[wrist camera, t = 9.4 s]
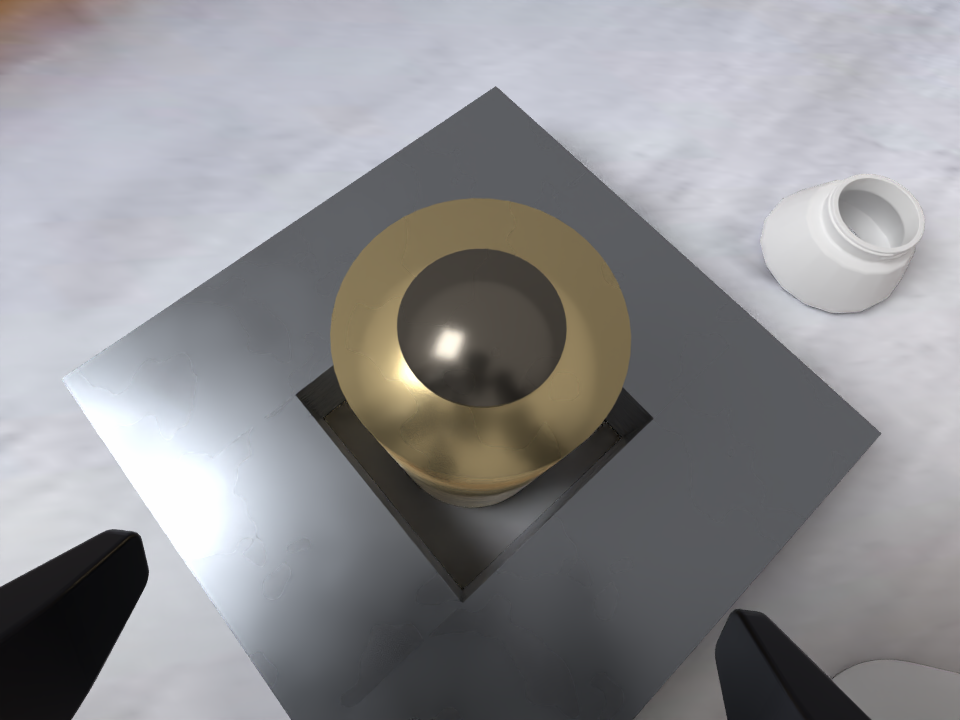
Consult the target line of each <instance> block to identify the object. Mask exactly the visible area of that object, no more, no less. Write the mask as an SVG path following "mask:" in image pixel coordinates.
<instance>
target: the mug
mask: <svg viewBox="0 0 960 720" xmlns="http://www.w3.org/2000/svg"><path fill="white" fill-rule="evenodd" d="M832 681H833V682H834V683H835V684H836V685H837V686H838V687H839V688H840V689H841V690H842V691H843V692H844V693H845V694H846V695H847V696H848V697H849V698H850V699H851V700H852V701H853V702H854V703H855V704H856V705H857V706H858V707H859V708H860V709H861V710H862V711H863V712H864V713H865V714H866V715H867V716H868V717H869V718H870V719H871V720H960V674H959V673H955V672H951V671H946V670H942V669H938V668H933V667H929V666H925V665H921V664H916V663H912V662H907V661H900V660H874V661H868V662H864V663H860V664H857V665H855V666H852V667H850V668H848V669H846V670H844V671H843V672H841V673H840V674H838V675H837V676H836V677H835V678H833V679H832Z"/></svg>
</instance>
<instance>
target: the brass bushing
mask: <svg viewBox="0 0 960 720" xmlns="http://www.w3.org/2000/svg"><path fill="white" fill-rule="evenodd" d="M330 341H331V355H332V360H333V365H334V370H335V373H336V376H337V379H338V382H339V385H340V388H341V390H342V392H343V394H344V396H345V398H346V400H347V402H348V404H349V406H350V407H351V409H352V410H353V412H354V413H355V414H356V416H357V417H358V419H359V420H360V421H361V423H362V424H363V425H364V426H365V427H366V428H367V429H368V431H369V432H370V433H371V434H372V435H373V436H374V437H375V438H376V439H377V441H378V442H379V443H380V444H381V445H382V446H383V447H384V448H385V449H386V450H387V452H388V453H389V454H390V455H391V456H392V457H393V458H394V459H395V460H396V462H397V463H398V464H399V465H400V466H401V467H402V468H403V469H404V470H405V471H406V473H407V474H408V475H409V476H410V477H411V478H412V479H413V480H414V481H415V482H416V484H417V485H418V486H419V487H420V488H422V489H423V490H424V491H425V492H427V493H428V494H429V495H431V496H433V497H434V498H436V499H438V500H440V501H442V502H445V503H447V504H451V505H454V506H459V507H467V508H473V507H484V506H490V505H493V504H497V503H499V502H502V501H504V500H506V499H508V498H510V497H511V496H513V495H515V494H516V493H518V492H519V491H520V490H522V489H523V488H524V487H525V486H527V485H528V484H529V483H531V482H532V481H533V480H535V479H536V478H537V477H539V476H540V475H541V474H543V473H544V472H545V471H547V470H548V469H549V468H551V467H552V466H553V465H555V464H556V463H557V462H558V461H560V460H561V459H562V458H564V457H565V456H566V455H568V454H569V453H570V452H572V451H573V450H574V449H575V448H577V447H578V446H579V445H580V444H582V443H583V442H584V441H585V440H586V439H588V438H589V437H590V436H591V434H592V433H593V432H594V431H595V430H596V429H597V428H598V427H599V426H600V425H601V424H602V422H603V421H604V419H605V418H606V417H607V415H608V414H609V412H610V411H611V409H612V408H613V406H614V404H615V402H616V400H617V398H618V396H619V394H620V392H621V390H622V387H623V384H624V381H625V378H626V375H627V371H628V365H629V360H630V353H631V330H630V320H629V315H628V311H627V307H626V302H625V299H624V297H623V294H622V291H621V289H620V286H619V284H618V282H617V280H616V278H615V277H614V275H613V273H612V271H611V269H610V268H609V266H608V265H607V263H606V262H605V261H604V259H603V258H602V257H601V255H600V254H599V253H598V252H597V251H596V250H595V248H594V247H593V246H592V245H591V244H590V243H589V242H588V241H587V240H586V239H585V238H583V237H582V236H581V235H580V234H579V233H577V232H576V231H575V230H574V229H572V228H571V227H569V226H568V225H566V224H565V223H563V222H562V221H560V220H559V219H557V218H555V217H553V216H551V215H549V214H547V213H545V212H543V211H540V210H538V209H535V208H532V207H529V206H527V205H523V204H519V203H515V202H511V201H505V200H497V199H485V198H470V199H460V200H452V201H447V202H443V203H438V204H434V205H431V206H428V207H425V208H422V209H420V210H417V211H415V212H413V213H411V214H409V215H407V216H405V217H403V218H401V219H400V220H398V221H396V222H395V223H393V224H392V225H390V226H388V227H387V228H386V229H385V230H383V231H382V232H381V233H380V234H378V235H377V236H376V237H375V238H374V239H373V240H372V241H371V242H370V243H369V244H368V245H367V246H366V247H365V248H364V249H363V250H362V251H361V253H360V254H359V255H358V257H357V258H356V259H355V261H354V262H353V263H352V265H351V267H350V268H349V270H348V272H347V274H346V276H345V277H344V279H343V281H342V284H341V286H340V289H339V291H338V294H337V296H336V300H335V304H334V308H333V313H332V319H331V330H330Z"/></svg>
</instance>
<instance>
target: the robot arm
mask: <svg viewBox="0 0 960 720" xmlns="http://www.w3.org/2000/svg"><path fill="white" fill-rule="evenodd" d="M148 576H149V569H148V564H147V560H146V555H145V551H144V547H143V543H142V539H141V536H140V535H139V534H138V533H136V532H132V531H124V530H117V529H112V530H107V531H104V532H102V533H100V534H98V535H96V536H95V537H93V538H91V539H89V540H87V541H85V542H83V543H82V544H80V545H78V546H76V547H74V548H72V549H70V550H68V551H67V552H65V553H63V554H61V555H59V556H57V557H55V558H53V559H52V560H50V561H48V562H46V563H44V564H42V565H40V566H38V567H37V568H35V569H33V570H31V571H29V572H27V573H25V574H24V575H22V576H20V577H18V578H16V579H14V580H12V581H10V582H9V583H7V584H5V585H3V586H1V587H0V720H71V719H72V718H73V716H74V715H75V713H76V712H77V710H78V709H79V707H80V705H81V704H82V702H83V701H84V699H85V697H86V696H87V694H88V693H89V691H90V689H91V687H92V686H93V684H94V682H95V680H96V679H97V677H98V675H99V673H100V671H101V669H102V668H103V666H104V664H105V662H106V660H107V658H108V656H109V654H110V653H111V651H112V649H113V647H114V645H115V643H116V641H117V639H118V637H119V636H120V634H121V632H122V630H123V628H124V626H125V624H126V622H127V620H128V619H129V617H130V615H131V613H132V611H133V609H134V607H135V605H136V603H137V602H138V600H139V598H140V596H141V594H142V592H143V590H144V588H145V586H146V584H147V581H148ZM715 659H716V664H717V669H718V674H719V680H720V685H721V690H722V695H723V700H724V705H725V710H726V715H727V720H871V719H870V718H869V717H868V716H867V715H866V714H865V713H864V712H863V711H862V710H861V709H860V708H859V707H858V706H857V705H856V704H855V703H854V702H853V701H852V700H851V699H850V698H849V697H848V696H847V695H846V694H845V693H844V692H843V691H842V690H841V689H840V688H839V687H838V686H837V685H836V684H835V683H834V682H833V681H832V680H831V679H830V678H829V677H828V676H827V675H826V674H825V673H824V672H823V671H822V670H821V669H820V668H819V667H818V666H817V665H816V664H815V663H814V662H813V661H812V660H811V659H810V658H809V657H808V656H807V655H806V654H805V653H804V652H803V651H802V650H801V649H800V648H799V647H798V646H797V645H796V644H795V643H794V642H793V641H792V640H791V639H790V638H789V637H788V636H787V635H786V634H785V633H784V632H783V631H782V630H781V629H780V628H779V627H778V626H777V625H776V624H775V623H774V622H773V621H772V620H770V619H769V618H768V617H767V616H766V615H764V614H763V613H761V612H757V611H749V610H741V609H736V610H734V611H733V612H731V614H730V616H729V618H728V620H727V622H726V624H725V626H724V628H723V630H722V633H721V635H720V637H719V639H718V641H717V644H716V648H715Z"/></svg>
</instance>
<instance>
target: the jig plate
mask: <svg viewBox="0 0 960 720" xmlns="http://www.w3.org/2000/svg"><path fill="white" fill-rule="evenodd" d="M470 198H485V199H497V200H505V201H511V202H515V203H519V204H523V205H527V206H529V207H532V208H535V209H538V210H540V211H543V212H545V213H547V214H549V215H551V216H553V217H555V218H557V219H559V220H560V221H562V222H563V223H565V224H566V225H568V226H569V227H571V228H572V229H574V230H575V231H576V232H577V233H579V234H580V235H581V236H582V237H583V238H585V239H586V240H587V241H588V242H589V243H590V244H591V245H592V246H593V247H594V248H595V250H596V251H597V252H598V253H599V254H600V255H601V257H602V258H603V259H604V261H605V262H606V263H607V265H608V266H609V268H610V269H611V271H612V273H613V275H614V277H615V278H616V280H617V282H618V284H619V286H620V289H621V291H622V294H623V297H624V299H625V302H626V307H627V311H628V315H629V320H630V330H631V353H630V360H629V365H628V371H627V375H626V378H625V381H624V384H623V387H622V390H621V392H620V394H619V396H618V398H617V400H616V402H615V404H614V406H613V408H612V409H611V411H610V412H609V414H608V415H607V417H606V418H605V420H606V421H607V422H608V423H609V424H610V425H611V426H612V427H613V428H614V429H615V431H616V432H617V433H618V434H619V435H620V436H621V437H622V438H621V439H620V440H619V441H618V442H617V443H616V444H615V445H614V446H613V447H612V448H611V449H610V450H609V451H608V452H607V453H606V454H604V455H603V456H602V457H601V458H600V459H599V460H598V461H597V462H596V463H595V464H594V465H593V466H592V467H591V468H590V469H589V470H588V471H587V472H586V473H585V474H584V475H583V476H582V477H580V478H579V479H578V480H577V481H576V482H575V483H574V484H573V485H572V486H571V487H570V488H569V489H568V490H567V491H566V492H565V493H564V494H563V495H562V496H561V497H560V498H559V499H558V500H557V501H555V502H554V503H553V504H552V505H551V506H550V507H549V508H548V509H547V510H546V511H545V512H544V513H543V514H542V515H541V516H540V517H539V518H538V519H537V520H536V521H535V522H534V523H533V524H531V525H530V526H529V527H528V528H527V529H526V530H525V531H524V532H523V533H522V534H521V535H520V536H519V537H518V538H517V539H516V540H515V541H514V542H513V543H512V544H511V545H510V546H509V547H507V548H506V549H505V550H504V551H503V552H502V553H501V554H500V555H499V556H498V557H497V558H496V559H495V560H494V561H493V562H492V563H491V564H490V565H489V566H488V567H487V568H486V569H485V570H484V571H482V572H481V573H480V574H479V575H478V576H477V577H476V578H475V579H474V580H473V581H472V582H471V583H470V584H469V585H468V586H467V587H466V588H465V589H464V590H463V591H462V590H461V588H460V587H459V586H458V585H457V584H456V582H455V581H454V580H453V579H452V577H451V576H450V575H449V574H448V572H447V571H446V570H445V569H444V567H443V566H442V565H441V564H440V562H439V561H438V560H437V559H436V558H435V556H434V555H433V554H432V553H431V551H430V550H429V549H428V548H427V546H426V545H425V544H424V543H423V541H422V540H421V539H420V538H419V536H418V535H417V534H416V533H415V531H414V530H413V529H412V528H411V527H410V525H409V524H408V523H407V522H406V520H405V519H404V518H403V517H402V515H401V514H400V513H399V512H398V510H397V509H396V508H395V507H394V505H393V504H392V503H391V502H390V501H389V499H388V498H387V497H386V496H385V494H384V493H383V492H382V491H381V489H380V488H379V487H378V486H377V484H376V483H375V482H374V481H373V479H372V478H371V477H370V476H369V475H368V473H367V472H366V471H365V470H364V468H363V467H362V466H361V465H360V463H359V462H358V461H357V460H356V458H355V457H354V456H353V455H352V453H351V452H350V451H349V450H348V448H347V447H346V446H345V445H344V444H343V442H342V441H341V440H340V439H339V437H338V436H337V435H336V434H335V432H334V431H333V430H332V429H331V427H330V426H329V425H328V424H327V422H326V421H325V420H324V419H323V417H324V416H326V415H327V414H328V413H329V412H331V411H332V410H333V409H334V408H336V407H337V406H338V405H339V404H341V403H342V402H343V401H344V400H346V398H345V396H344V394H343V392H342V390H341V388H340V385H339V382H338V379H337V376H336V373H335V370H334V365H333V360H332V355H331V341H330V330H331V319H332V313H333V308H334V304H335V300H336V296H337V294H338V291H339V289H340V286H341V284H342V281H343V279H344V277H345V276H346V274H347V272H348V270H349V268H350V267H351V265H352V263H353V262H354V261H355V259H356V258H357V257H358V255H359V254H360V253H361V251H362V250H363V249H364V248H365V247H366V246H367V245H368V244H369V243H370V242H371V241H372V240H373V239H374V238H375V237H376V236H377V235H378V234H380V233H381V232H382V231H383V230H385V229H386V228H387V227H388V226H390V225H392V224H393V223H395V222H396V221H398V220H400V219H401V218H403V217H405V216H407V215H409V214H411V213H413V212H415V211H417V210H420V209H422V208H425V207H428V206H431V205H434V204H438V203H443V202H447V201H452V200H460V199H470ZM61 380H62V381H63V382H64V384H65V385H66V387H67V388H68V390H69V391H70V393H71V394H72V396H73V397H74V399H75V400H76V402H77V403H78V405H79V406H80V408H81V409H82V411H83V412H84V414H85V415H86V417H87V418H88V419H89V421H90V422H91V424H92V425H93V427H94V428H95V430H96V431H97V433H98V434H99V436H100V437H101V439H102V440H103V442H104V443H105V445H106V446H107V448H108V449H109V451H110V452H111V454H112V455H113V456H114V458H115V459H116V461H117V462H118V464H119V465H120V467H121V468H122V470H123V471H124V473H125V474H126V476H127V477H128V479H129V480H130V482H131V483H132V485H133V486H134V488H135V489H136V491H137V492H138V493H139V495H140V496H141V498H142V499H143V501H144V502H145V504H146V505H147V507H148V508H149V510H150V511H151V513H152V514H153V516H154V517H155V519H156V520H157V522H158V523H159V525H160V526H161V528H162V529H163V530H164V532H165V533H166V535H167V536H168V538H169V539H170V541H171V542H172V544H173V545H174V547H175V548H176V550H177V551H178V553H179V554H180V556H181V557H182V559H183V560H184V562H185V563H186V565H187V566H188V568H189V569H190V570H191V572H192V573H193V575H194V576H195V578H196V579H197V581H198V582H199V584H200V585H201V587H202V588H203V590H204V591H205V593H206V594H207V596H208V597H209V599H210V600H211V602H212V603H213V605H214V606H215V607H216V609H217V610H218V612H219V613H220V615H221V616H222V618H223V619H224V621H225V622H226V624H227V625H228V627H229V628H230V630H231V631H232V633H233V634H234V636H235V637H236V639H237V640H238V642H239V643H240V644H241V646H242V647H243V649H244V650H245V652H246V653H247V655H248V656H249V658H250V659H251V661H252V662H253V664H254V665H255V667H256V668H257V670H258V671H259V673H260V674H261V676H262V677H263V679H264V680H265V681H266V683H267V684H268V686H269V687H270V689H271V690H272V692H273V693H274V695H275V696H276V698H277V699H278V701H279V702H280V704H281V705H282V707H283V708H284V710H285V711H286V713H287V714H288V716H289V717H290V718H291V720H633V719H634V718H635V716H636V715H637V714H638V713H639V712H640V711H641V710H642V708H643V707H644V706H645V705H646V704H647V703H648V702H649V700H650V699H651V698H652V697H653V696H654V695H655V693H656V692H657V691H658V690H659V689H660V688H661V687H662V685H663V684H664V683H665V682H666V681H667V680H668V679H669V677H670V676H671V675H672V674H673V673H674V672H675V670H676V669H677V668H678V667H679V666H680V665H681V664H682V662H683V661H684V660H685V659H686V658H687V657H688V655H689V654H690V653H691V652H692V651H693V650H694V649H695V647H696V646H697V645H698V644H699V643H700V642H701V641H702V639H703V638H704V637H705V636H706V635H707V634H708V632H709V631H710V630H711V629H712V628H713V627H714V626H715V624H716V623H717V622H718V621H719V620H720V619H721V617H722V616H723V615H724V614H725V613H726V612H727V611H728V609H729V608H730V607H731V606H732V605H733V604H734V603H735V601H736V600H737V599H738V598H739V597H740V596H741V594H742V593H743V592H744V591H745V590H746V589H747V588H748V586H749V585H750V584H751V583H752V582H753V581H754V580H755V578H756V577H757V576H758V575H759V574H760V573H761V571H762V570H763V569H764V568H765V567H766V566H767V565H768V563H769V562H770V561H771V560H772V559H773V558H774V556H775V555H776V554H777V553H778V552H779V551H780V550H781V548H782V547H783V546H784V545H785V544H786V543H787V542H788V540H789V539H790V538H791V537H792V536H793V535H794V533H795V532H796V531H797V530H798V529H799V528H800V527H801V525H802V524H803V523H804V522H805V521H806V520H807V518H808V517H809V516H810V515H811V514H812V513H813V512H814V510H815V509H816V508H817V507H818V506H819V505H820V504H821V502H822V501H823V500H824V499H825V498H826V497H827V495H828V494H829V493H830V492H831V491H832V490H833V489H834V487H835V486H836V485H837V484H838V483H839V482H840V481H841V479H842V478H843V477H844V476H845V475H846V474H847V472H848V471H849V470H850V469H851V468H852V467H853V466H854V464H855V463H856V462H857V461H858V460H859V459H860V457H861V456H862V455H863V454H864V453H865V452H866V451H867V449H868V448H869V447H870V446H871V445H872V444H873V443H874V441H875V440H876V439H877V438H878V437H879V436H880V434H881V433H880V432H879V431H878V430H877V429H876V428H875V427H874V426H872V425H871V424H870V423H869V422H868V421H867V420H866V419H865V418H864V417H862V416H861V415H860V414H859V413H858V412H857V411H856V410H855V409H854V408H852V407H851V406H850V405H849V404H848V403H847V402H846V401H845V400H844V399H842V398H841V397H840V396H839V395H838V394H837V393H836V392H835V391H834V390H832V389H831V388H830V387H829V386H828V385H827V384H826V383H825V382H824V381H823V380H821V379H820V378H819V377H818V376H817V375H816V374H815V373H814V372H813V371H811V370H810V369H809V368H808V367H807V366H806V365H805V364H804V363H803V362H801V361H800V360H799V359H798V358H797V357H796V356H795V355H794V354H793V353H791V352H790V351H789V350H788V349H787V348H786V347H785V346H784V345H783V344H781V343H780V342H779V341H778V340H777V339H776V338H775V337H774V336H773V335H771V334H770V333H769V332H768V331H767V330H766V329H765V328H764V327H763V326H761V325H760V324H759V323H758V322H757V321H756V320H755V319H754V318H753V317H751V316H750V315H749V314H748V313H747V312H746V311H745V310H744V309H743V308H741V307H740V306H739V305H738V304H737V303H736V302H735V301H734V300H733V299H731V298H730V297H729V296H728V295H727V294H726V293H725V292H724V291H723V290H721V289H720V288H719V287H718V286H717V285H716V284H715V283H714V282H713V281H711V280H710V279H709V278H708V277H707V276H706V275H705V274H704V273H703V272H702V271H700V270H699V269H698V268H697V267H696V266H695V265H694V264H693V263H692V262H690V261H689V260H688V259H687V258H686V257H685V256H684V255H683V254H682V253H680V252H679V251H678V250H677V249H676V248H675V247H674V246H673V245H672V244H670V243H669V242H668V241H667V240H666V239H665V238H664V237H663V236H662V235H660V234H659V233H658V232H657V231H656V230H655V229H654V228H653V227H652V226H650V225H649V224H648V223H647V222H646V221H645V220H644V219H643V218H642V217H640V216H639V215H638V214H637V213H636V212H635V211H634V210H633V209H632V208H630V207H629V206H628V205H627V204H626V203H625V202H624V201H623V200H622V199H620V198H619V197H618V196H617V195H616V194H615V193H614V192H613V191H612V190H610V189H609V188H608V187H607V186H606V185H605V184H604V183H603V182H602V181H600V180H599V179H598V178H597V177H596V176H595V175H594V174H593V173H592V172H591V171H589V170H588V169H587V168H586V167H585V166H584V165H583V164H582V163H581V162H579V161H578V160H577V159H576V158H575V157H574V156H573V155H572V154H571V153H569V152H568V151H567V150H566V149H565V148H564V147H563V146H562V145H561V144H559V143H558V142H557V141H556V140H555V139H554V138H553V137H552V136H551V135H549V134H548V133H547V132H546V131H545V130H544V129H543V128H542V127H541V126H539V125H538V124H537V123H536V122H535V121H534V120H533V119H532V118H531V117H529V116H528V115H527V114H526V113H525V112H524V111H523V110H522V109H521V108H519V107H518V106H517V105H516V104H515V103H514V102H513V101H512V100H511V99H509V98H508V97H507V96H506V95H505V94H504V93H503V92H502V91H501V90H499V89H498V88H497V87H496V86H495V87H494V88H493V89H491V90H490V91H488V92H487V93H485V94H484V95H482V96H481V97H479V98H478V99H476V100H475V101H473V102H472V103H470V104H469V105H467V106H466V107H464V108H463V109H461V110H460V111H458V112H457V113H455V114H454V115H452V116H451V117H449V118H448V119H446V120H445V121H444V122H442V123H441V124H439V125H438V126H436V127H435V128H433V129H432V130H430V131H429V132H427V133H426V134H424V135H423V136H421V137H420V138H418V139H417V140H415V141H414V142H412V143H411V144H409V145H408V146H406V147H405V148H403V149H402V150H400V151H399V152H397V153H396V154H395V155H393V156H392V157H390V158H389V159H387V160H386V161H384V162H383V163H381V164H380V165H378V166H377V167H375V168H374V169H372V170H371V171H369V172H368V173H366V174H365V175H363V176H362V177H360V178H359V179H357V180H356V181H354V182H353V183H351V184H350V185H348V186H347V187H346V188H344V189H343V190H341V191H340V192H338V193H337V194H335V195H334V196H332V197H331V198H329V199H328V200H326V201H325V202H323V203H322V204H320V205H319V206H317V207H316V208H314V209H313V210H311V211H310V212H308V213H307V214H305V215H304V216H302V217H301V218H299V219H298V220H297V221H295V222H294V223H292V224H291V225H289V226H288V227H286V228H285V229H283V230H282V231H280V232H279V233H277V234H276V235H274V236H273V237H271V238H270V239H268V240H267V241H265V242H264V243H262V244H261V245H259V246H258V247H256V248H255V249H253V250H252V251H250V252H249V253H248V254H246V255H245V256H243V257H242V258H240V259H239V260H237V261H236V262H234V263H233V264H231V265H230V266H228V267H227V268H225V269H224V270H222V271H221V272H219V273H218V274H216V275H215V276H213V277H212V278H210V279H209V280H207V281H206V282H204V283H203V284H201V285H200V286H199V287H197V288H196V289H194V290H193V291H191V292H190V293H188V294H187V295H185V296H184V297H182V298H181V299H179V300H178V301H176V302H175V303H173V304H172V305H170V306H169V307H167V308H166V309H164V310H163V311H161V312H160V313H158V314H157V315H155V316H154V317H152V318H151V319H150V320H148V321H147V322H145V323H144V324H142V325H141V326H139V327H138V328H136V329H135V330H133V331H132V332H130V333H129V334H127V335H126V336H124V337H123V338H121V339H120V340H118V341H117V342H115V343H114V344H112V345H111V346H109V347H108V348H106V349H105V350H104V351H102V352H101V353H99V354H98V355H96V356H95V357H93V358H92V359H90V360H89V361H87V362H86V363H84V364H83V365H81V366H80V367H78V368H77V369H75V370H74V371H72V372H71V373H69V374H68V375H66V376H65V377H63V378H62V379H61Z"/></svg>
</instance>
